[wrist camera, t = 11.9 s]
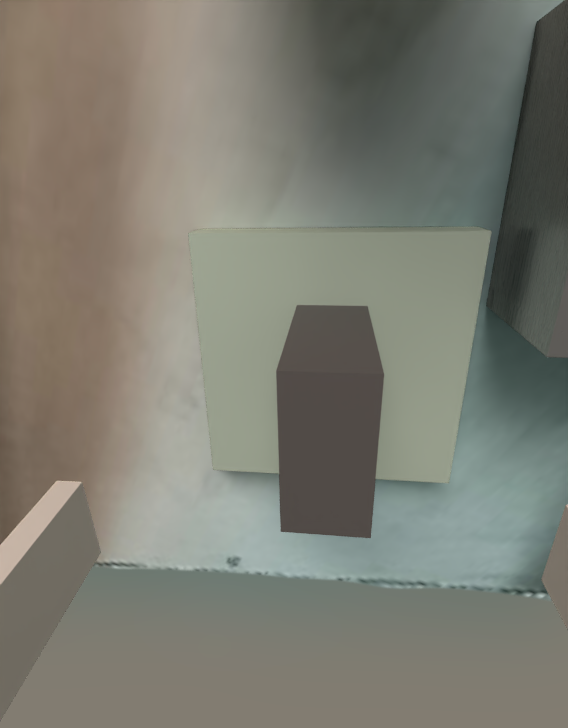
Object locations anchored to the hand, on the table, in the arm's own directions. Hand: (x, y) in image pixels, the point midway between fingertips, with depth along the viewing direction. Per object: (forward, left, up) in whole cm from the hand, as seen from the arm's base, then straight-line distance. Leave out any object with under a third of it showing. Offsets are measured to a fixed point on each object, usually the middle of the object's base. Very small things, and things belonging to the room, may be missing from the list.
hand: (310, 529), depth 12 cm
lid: (0, 0, -14) cm, 14 cm away
